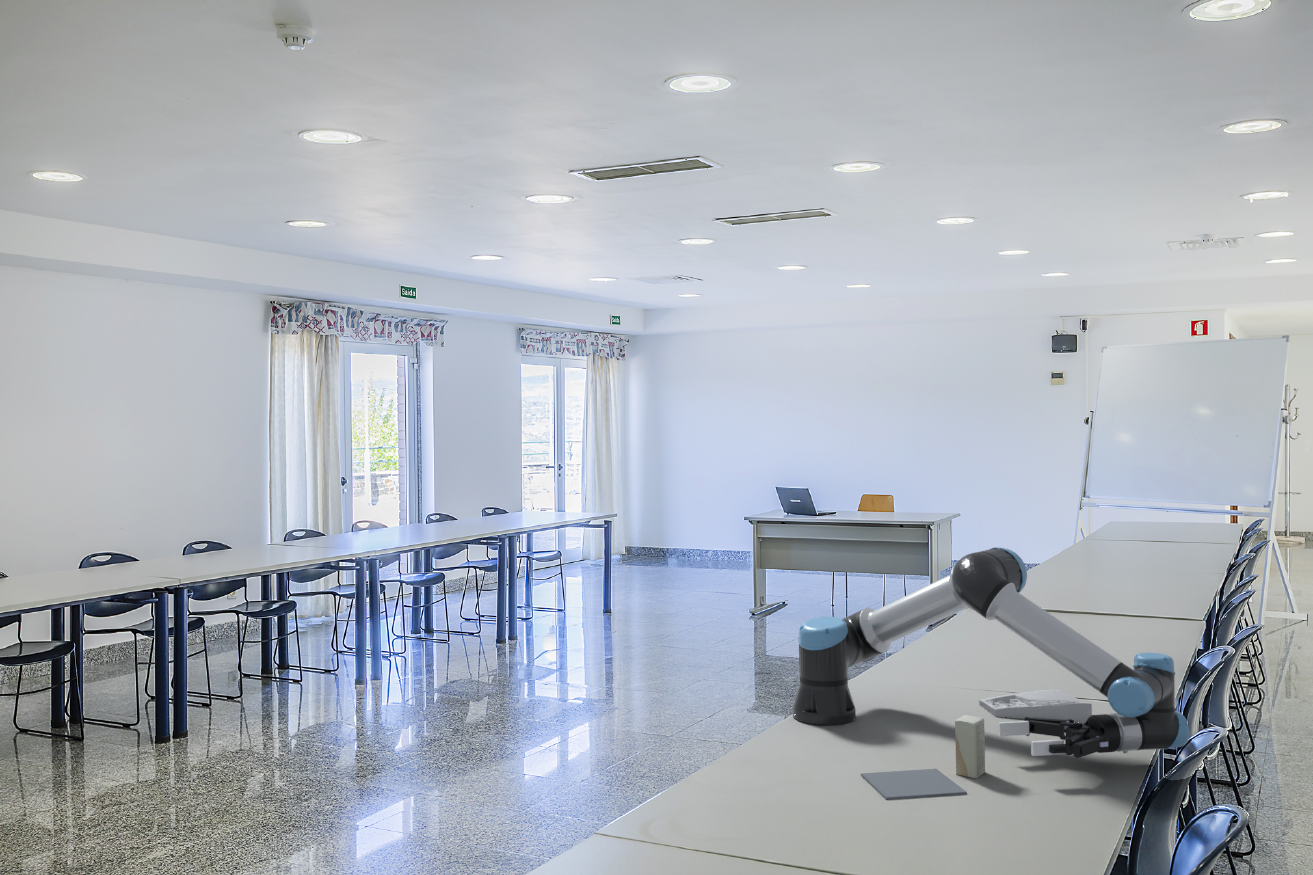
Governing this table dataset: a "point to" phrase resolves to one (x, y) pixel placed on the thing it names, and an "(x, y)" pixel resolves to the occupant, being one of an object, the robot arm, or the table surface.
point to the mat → (912, 784)
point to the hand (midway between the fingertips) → (1014, 738)
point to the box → (970, 746)
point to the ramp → (1038, 706)
